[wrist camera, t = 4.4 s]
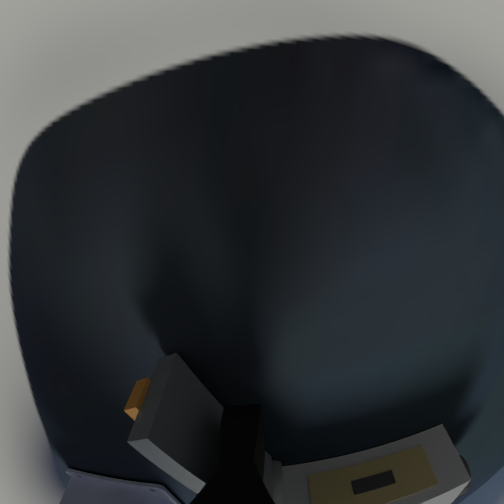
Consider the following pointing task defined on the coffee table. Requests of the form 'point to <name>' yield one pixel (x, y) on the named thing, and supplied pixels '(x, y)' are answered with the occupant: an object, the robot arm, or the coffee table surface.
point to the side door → (184, 427)
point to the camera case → (384, 474)
